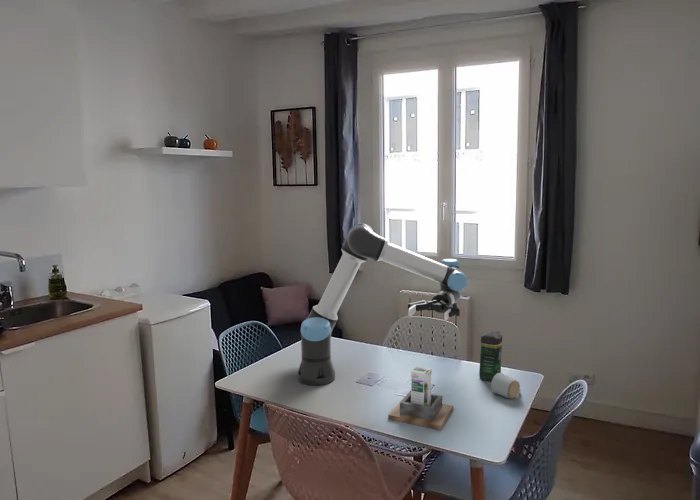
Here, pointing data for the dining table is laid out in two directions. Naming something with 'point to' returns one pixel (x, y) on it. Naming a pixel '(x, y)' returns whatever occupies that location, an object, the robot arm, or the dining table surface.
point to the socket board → (422, 412)
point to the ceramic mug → (505, 386)
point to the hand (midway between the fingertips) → (426, 314)
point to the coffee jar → (490, 355)
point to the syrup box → (421, 386)
